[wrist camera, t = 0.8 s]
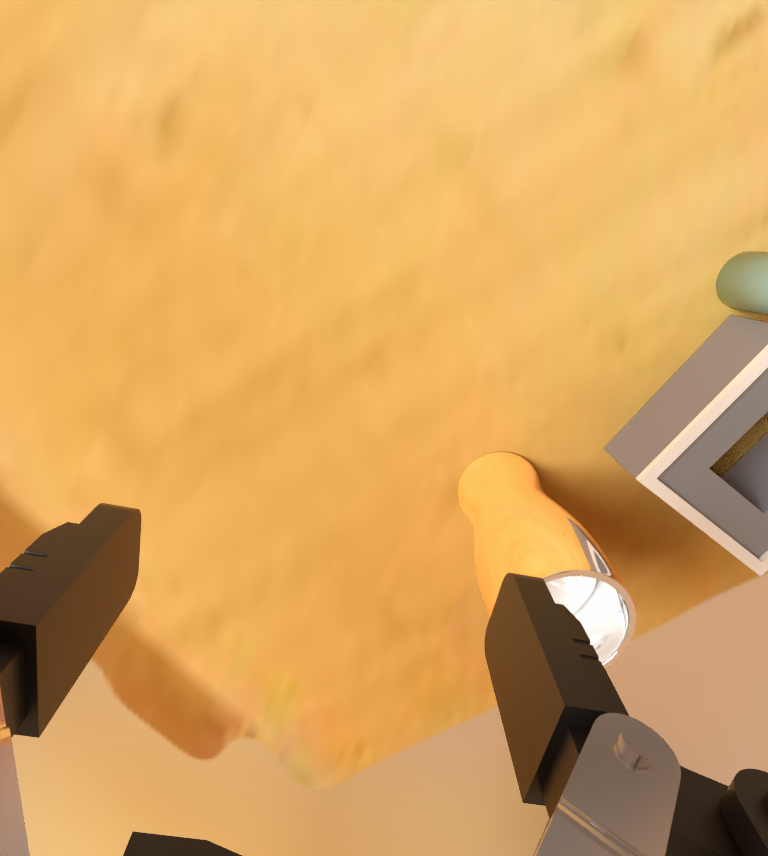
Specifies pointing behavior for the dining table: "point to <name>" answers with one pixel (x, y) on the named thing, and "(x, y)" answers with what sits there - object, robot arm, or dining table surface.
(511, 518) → the tumbler
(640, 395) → the dining table surface
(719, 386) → the socket block
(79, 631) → the robot arm
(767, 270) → the plug
